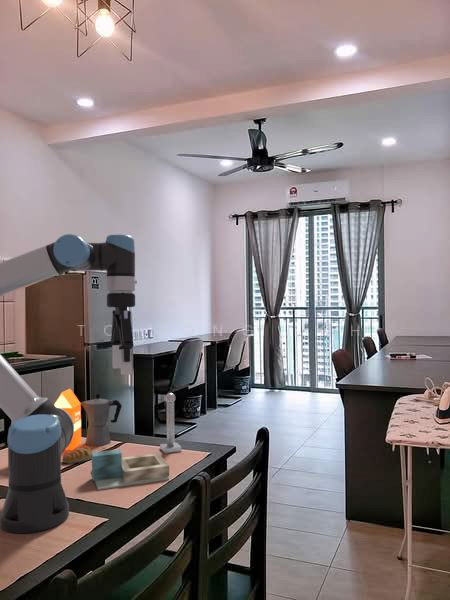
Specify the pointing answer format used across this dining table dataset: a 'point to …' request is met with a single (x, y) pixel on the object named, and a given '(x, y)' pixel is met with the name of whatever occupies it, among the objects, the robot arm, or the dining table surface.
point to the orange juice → (71, 414)
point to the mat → (120, 483)
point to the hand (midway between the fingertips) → (121, 371)
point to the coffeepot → (99, 420)
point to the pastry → (78, 455)
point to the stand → (170, 427)
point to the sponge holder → (127, 466)
